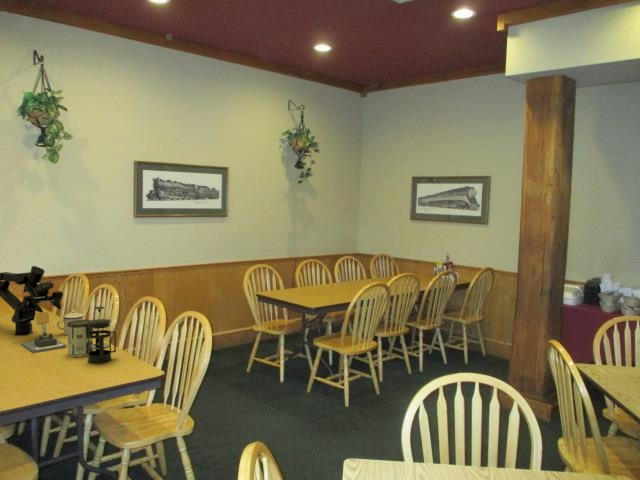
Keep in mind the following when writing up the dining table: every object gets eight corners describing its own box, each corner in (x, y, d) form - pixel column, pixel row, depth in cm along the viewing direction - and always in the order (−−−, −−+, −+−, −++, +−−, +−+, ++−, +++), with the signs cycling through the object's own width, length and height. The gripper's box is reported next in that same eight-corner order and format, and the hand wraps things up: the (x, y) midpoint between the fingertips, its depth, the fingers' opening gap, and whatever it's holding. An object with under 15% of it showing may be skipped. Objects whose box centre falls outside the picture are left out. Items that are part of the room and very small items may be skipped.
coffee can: (87, 349, 243) (86, 318, 242) (97, 353, 236) (96, 322, 235) (63, 353, 235) (63, 321, 234) (73, 358, 228) (73, 326, 227)
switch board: (22, 345, 246) (21, 332, 245) (54, 340, 256) (54, 328, 255) (33, 353, 234) (33, 339, 234) (66, 347, 244) (66, 334, 244)
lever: (38, 337, 242) (35, 314, 245) (50, 335, 246) (46, 312, 249) (39, 336, 241) (36, 312, 244) (51, 334, 245) (47, 311, 247)
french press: (87, 365, 220) (87, 310, 218) (84, 359, 227) (83, 306, 226) (117, 361, 226) (117, 307, 224) (113, 355, 234) (113, 303, 232)
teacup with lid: (82, 330, 276) (81, 308, 275) (84, 334, 268) (84, 311, 267) (56, 332, 270) (56, 310, 269) (58, 337, 262) (57, 313, 261)
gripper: (20, 279, 249) (37, 300, 243) (57, 275, 265) (74, 294, 259) (14, 298, 253) (30, 318, 247) (51, 292, 269) (67, 312, 263)
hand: (51, 310), depth 254 cm, fingers open, 9 cm apart
